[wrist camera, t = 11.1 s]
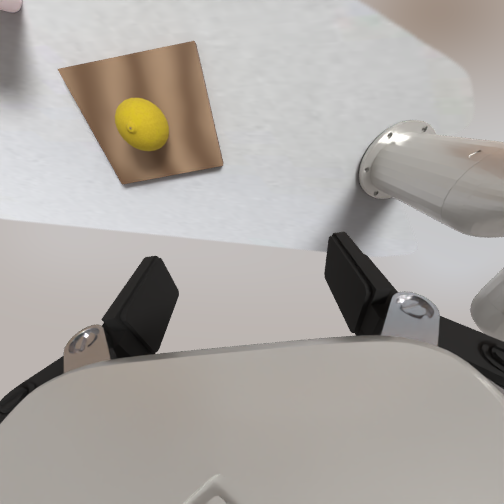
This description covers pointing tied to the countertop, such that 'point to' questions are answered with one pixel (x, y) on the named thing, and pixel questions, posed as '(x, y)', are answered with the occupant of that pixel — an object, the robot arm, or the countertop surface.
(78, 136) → the countertop surface
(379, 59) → the countertop surface
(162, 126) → the lemon
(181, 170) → the cutting board
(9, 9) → the smoothie
